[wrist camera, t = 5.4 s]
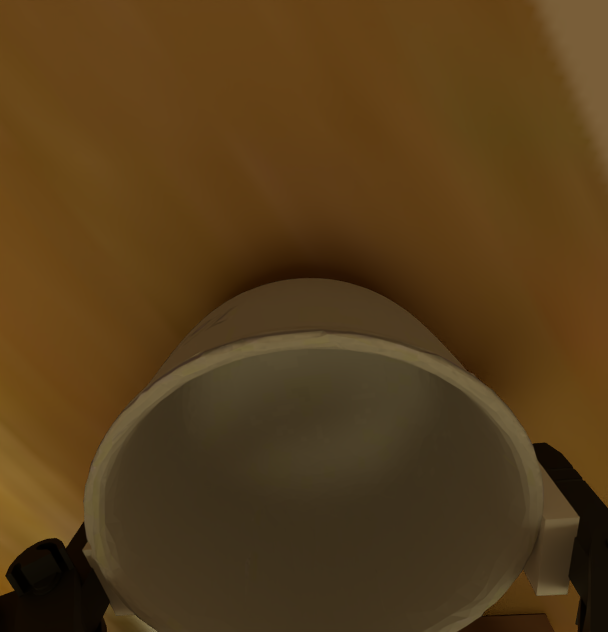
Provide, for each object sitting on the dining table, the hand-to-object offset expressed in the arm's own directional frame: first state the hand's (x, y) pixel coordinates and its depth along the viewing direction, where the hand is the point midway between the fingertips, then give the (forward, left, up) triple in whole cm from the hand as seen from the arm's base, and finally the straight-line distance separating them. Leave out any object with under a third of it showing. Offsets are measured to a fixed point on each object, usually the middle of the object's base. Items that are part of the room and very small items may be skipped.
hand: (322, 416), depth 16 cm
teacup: (-1, 0, -1) cm, 1 cm away
